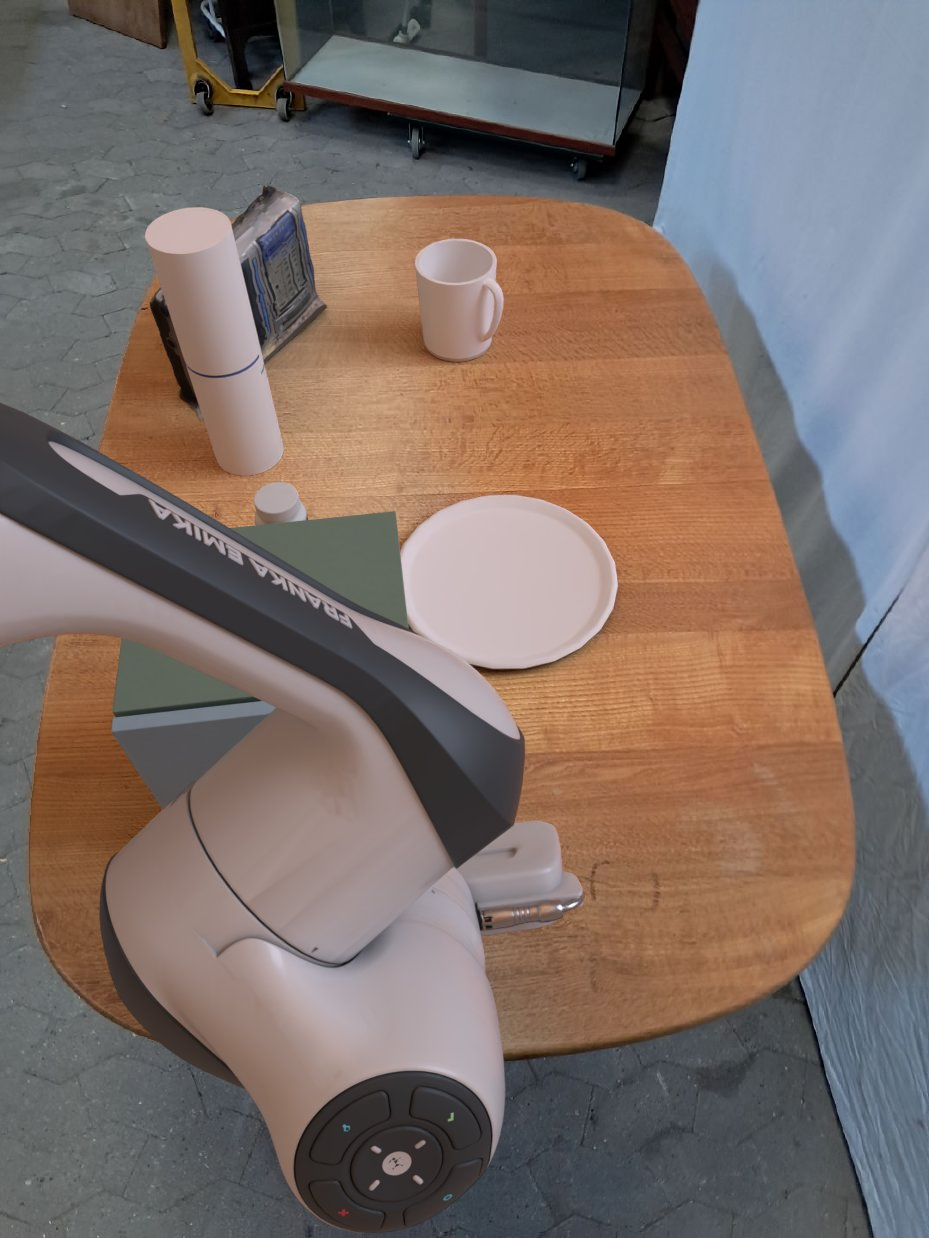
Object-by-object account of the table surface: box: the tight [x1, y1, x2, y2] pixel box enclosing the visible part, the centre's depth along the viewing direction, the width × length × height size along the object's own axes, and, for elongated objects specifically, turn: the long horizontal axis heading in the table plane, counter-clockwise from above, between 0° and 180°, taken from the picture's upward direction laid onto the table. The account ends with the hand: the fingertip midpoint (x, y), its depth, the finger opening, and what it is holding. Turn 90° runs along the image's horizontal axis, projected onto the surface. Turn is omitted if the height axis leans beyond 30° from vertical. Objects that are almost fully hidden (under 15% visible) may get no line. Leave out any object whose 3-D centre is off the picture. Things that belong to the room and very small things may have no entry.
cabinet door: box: [110, 701, 276, 811], centre depth 60 cm, size 6×18×20 cm, turn 97°
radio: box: [149, 185, 328, 422], centre depth 100 cm, size 23×9×15 cm, turn 143°
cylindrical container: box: [144, 206, 285, 477], centre depth 86 cm, size 7×7×25 cm
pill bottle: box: [253, 481, 309, 525], centre depth 84 cm, size 5×5×8 cm
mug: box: [414, 238, 505, 363], centre depth 102 cm, size 11×9×10 cm
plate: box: [400, 494, 619, 671], centre depth 84 cm, size 21×21×1 cm
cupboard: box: [111, 510, 410, 718], centre depth 67 cm, size 14×18×20 cm
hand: (392, 834), depth 60 cm, fingers closed on cabinet door, 2 cm apart
